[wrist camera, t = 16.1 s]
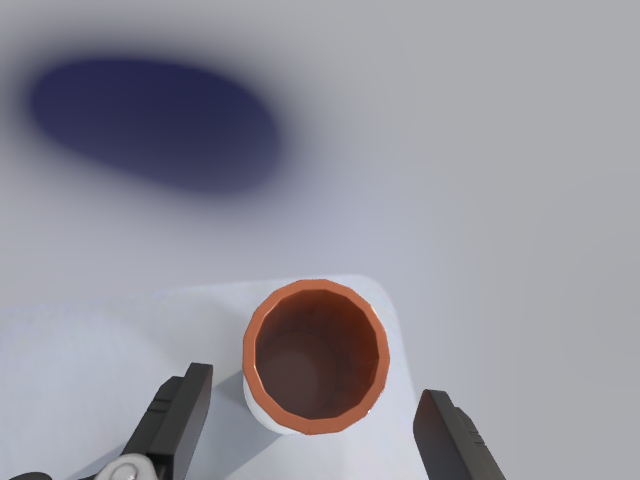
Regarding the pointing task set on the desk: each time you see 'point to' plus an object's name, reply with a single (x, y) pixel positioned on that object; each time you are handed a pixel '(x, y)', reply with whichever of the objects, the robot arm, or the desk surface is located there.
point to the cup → (315, 356)
